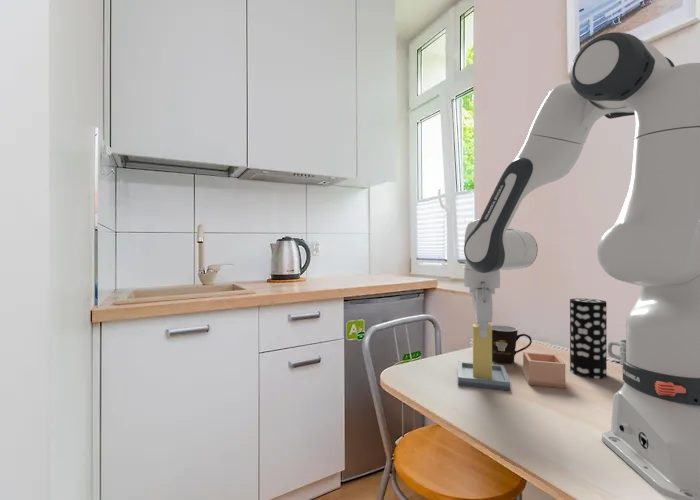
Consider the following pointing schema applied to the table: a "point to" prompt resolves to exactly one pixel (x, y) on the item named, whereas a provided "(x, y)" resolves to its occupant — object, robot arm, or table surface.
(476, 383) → the tray
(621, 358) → the mug
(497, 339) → the coffee mug
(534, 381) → the pink open box
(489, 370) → the peg
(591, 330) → the white-spotted black cylinder
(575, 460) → the table surface
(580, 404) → the table surface
